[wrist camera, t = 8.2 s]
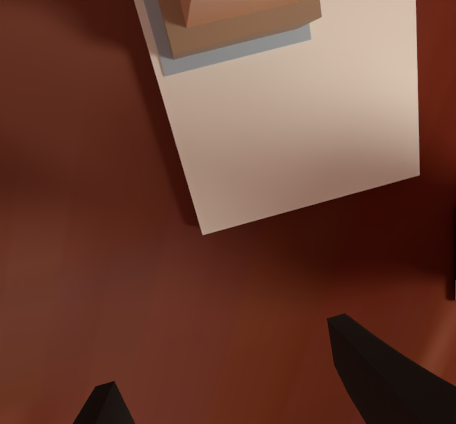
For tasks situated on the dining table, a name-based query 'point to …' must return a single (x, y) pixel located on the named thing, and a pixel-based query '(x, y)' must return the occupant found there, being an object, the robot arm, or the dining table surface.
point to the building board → (287, 102)
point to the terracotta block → (224, 9)
